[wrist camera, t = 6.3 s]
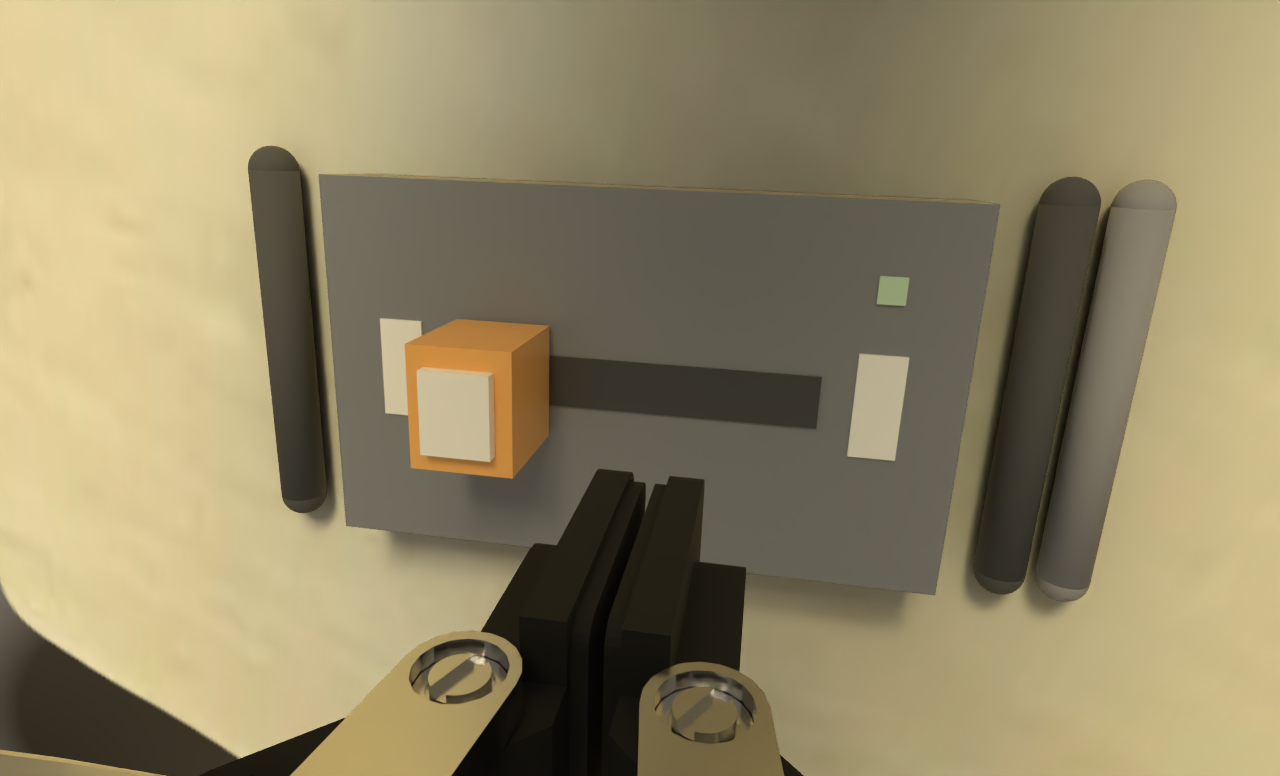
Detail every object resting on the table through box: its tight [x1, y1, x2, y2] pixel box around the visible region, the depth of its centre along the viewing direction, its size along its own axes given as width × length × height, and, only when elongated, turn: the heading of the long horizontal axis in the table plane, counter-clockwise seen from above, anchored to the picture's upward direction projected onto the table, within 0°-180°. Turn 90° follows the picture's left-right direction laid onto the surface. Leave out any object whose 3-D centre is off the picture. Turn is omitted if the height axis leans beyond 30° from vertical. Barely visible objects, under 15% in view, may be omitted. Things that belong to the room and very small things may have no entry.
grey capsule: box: [973, 177, 1101, 594], centre depth 24 cm, size 14×2×2 cm, turn 177°
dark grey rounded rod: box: [248, 146, 327, 513], centre depth 28 cm, size 14×2×2 cm, turn 177°
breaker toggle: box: [405, 319, 549, 479], centre depth 22 cm, size 4×3×4 cm
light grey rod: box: [1036, 180, 1177, 602], centre depth 24 cm, size 14×2×2 cm, turn 177°
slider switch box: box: [319, 174, 1000, 595], centre depth 25 cm, size 12×20×3 cm, turn 87°
